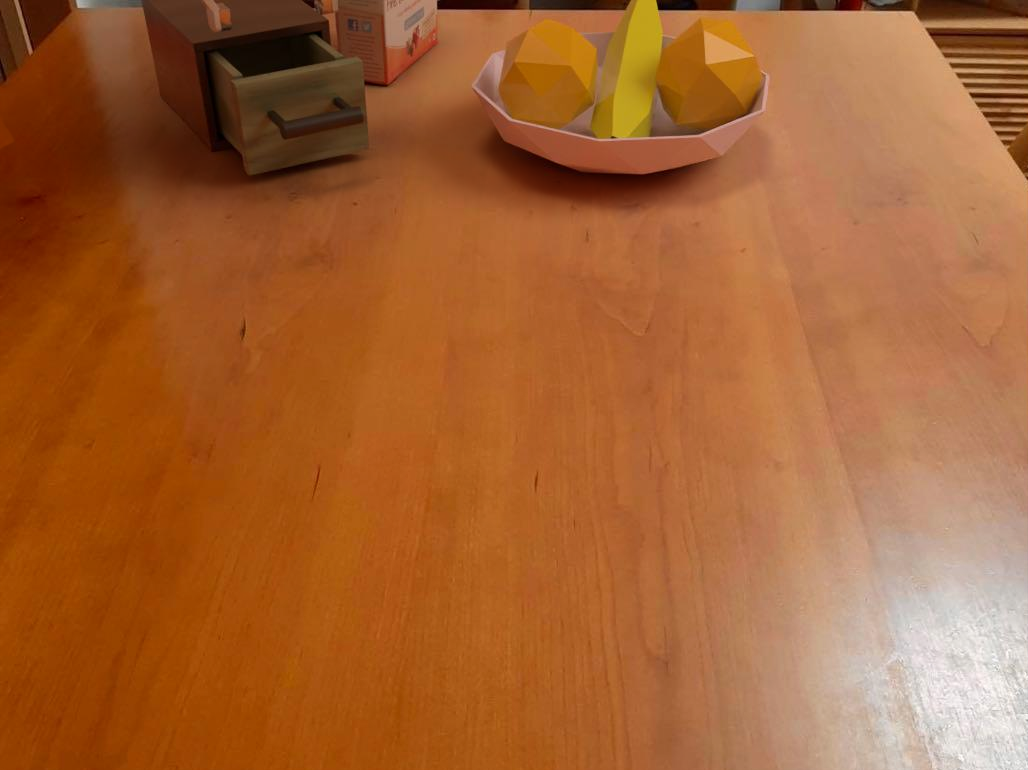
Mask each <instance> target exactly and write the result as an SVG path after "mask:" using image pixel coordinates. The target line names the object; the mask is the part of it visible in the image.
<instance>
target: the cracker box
mask: <svg viewBox="0 0 1028 770" xmlns="http://www.w3.org/2000/svg"><path fill="white" fill-rule="evenodd" d="M337 2H338V12H337V13H334V15H335V16H334V19H335V29H336V30H335V31H336V41H337V51H338V52H339V53H340V54H342V55H343V59H346V58H352V57H358V58H359V59H361V60H362V63H363V75H364V83H370V84H376V85H377V84H378V85H385V86H389V85H390V84H391V83H393V82H394V81H395V80H396V79H397V78H398V77H399V76H400V75H402V74H403V73H404V72H406V70H407V69H408V68H410V67H411V66H413V65H414V63H415V62H417V61H418V60H419V59H420V58H421V57H423V56H424V55H425V54H426V53H427V52H429V50H431V49H432V48H433V47H435V45H437V44H438V42H439V31H438V0H337Z"/></svg>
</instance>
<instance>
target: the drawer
mask: <svg viewBox="0 0 1028 770" xmlns="http://www.w3.org/2000/svg"><path fill="white" fill-rule="evenodd" d="M204 58H205V64H206V70H207V76H208V82H209V88H210V94H211V99H212V105H213V111H214V117H215V123H216V128H217V129H218V130H219V132H220V133H221V134H222V135H223V136H224V137H225V138H226V139H227V140H228V141H229V142H230V143H231V144H232V145H233V146H234V147H233V148H234V149H235V150H237V152H238V153H239V154H240V155H241V157H242V163H243V164H242V165H243V170H244V171H245V173H246V175H248V176H253V175H259V174H263V173H268V172H273V171H277V170H281V169H285V168H289V167H294V166H300V165H303V164H308V163H312V162H317V161H322V160H325V159H331V158H334V157H339V156H343V155H349V154H352V153H357V152H361V151H367V150H370V137H369V123H368V114H367V113H368V112H367V100H366V89H365V82H364V75H363V63H362V60H361V59H359V58H358V57H352V58H346V59H343V55H342V54H340V53H339V52H338V50H336V49H335V48H334V47H333V46H332V45H331V46H330V45H329V44H327V43H326V42H325V41H323V40H322V39H321V38H319V37H318V36H317V35H316V34H314V33H313V32H310V33H305V34H299V35H293V36H288V37H282V38H277V39H271V40H265V41H260V42H254V43H248V44H243V45H237V46H232V47H226V48H220V49H215V50H209V51H204Z"/></svg>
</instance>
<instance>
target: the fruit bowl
mask: <svg viewBox="0 0 1028 770" xmlns="http://www.w3.org/2000/svg"><path fill="white" fill-rule="evenodd" d="M658 8H659V7H658V3H657V0H630V1H629V3H628V5H627V7H626V9H625V11H624V13H623V14H622V17H621V19H620V21H619V23H618V24H617V27H616V29H615V30H614V31H597V32H595V31H593V32H579V31H577V30H576V29H575V28H573V27H572V26H569V25H567V24H564V23H562V22H559V21H557V20H553V19H550V18H546V19H544V20H542V21H540V22H539V23H537V24H535V25H533V26H532V27H530V28H528V29H527V30H525V31H523V32H521V33H520V34H518V35H516V36H515V37H513V38H511V39H510V40H508V41H507V42H506V46H505V49H503V50H499V51H497V52H493V53H491V54H490V56H489V58H488V59H487V61H486V62H485V64H484V65H483V67H482V68H481V70H480V72H479V73H478V75H477V77H476V78H475V79H474V81H473V82H472V84H471V85H470V87H471V89H472V90H473V92H474V94H475V96H476V97H477V99H478V100H479V102H480V104H481V105H482V107H483V109H484V110H485V112H486V114H487V115H488V117H489V118H490V120H491V121H492V123H493V125H494V126H495V129H496V130H497V132H498V134H499V135H500V137H501V138H502V140H503V141H504V142H505V143H508V144H510V145H513V146H515V147H518V148H520V149H523V150H525V151H527V152H530V153H532V154H534V155H537V156H538V157H542V158H543V159H546V160H549V161H551V162H552V163H556V164H559V165H561V166H564V167H567V168H569V169H573V170H574V171H575V170H576V171H578V172H581V173H595V174H623V175H625V174H626V175H647V174H652V173H658V172H662V171H668V170H674V169H677V168H678V169H679V168H683V167H686V166H689V165H693V164H698V163H701V162H704V161H708V160H713V159H716V158H719V157H723V156H724V155H725V154H726V153H727V152H728V151H729V150H730V149H731V148H732V146H734V145H735V144H736V142H738V141H739V140H740V139H741V138H742V137H743V136H744V135H745V134H746V133H747V131H748V130H749V129H751V128H752V126H753V125H754V124H755V123H756V122H757V121H758V120H759V118H760V117H761V116H762V115H763V114H764V113H765V112H766V108H767V102H768V101H767V100H768V94H769V86H770V77H771V75H770V74H768V73H767V72H765V71H764V70H761V69H760V66H759V63H758V60H757V58H756V54H755V53H754V52H753V50H752V49H751V48H750V46H749V44H748V43H747V41H746V40H745V39H744V36H743V35H742V33H741V32H740V31H739V29H738V27H737V25H736V24H735V23H734V21H733V20H731V19H720V18H711V17H699V19H697V20H696V21H695V22H693V24H691V25H690V26H689V27H688V28H686V29H685V30H683V32H682V33H681V34H679V35H678V36H677V37H676V36H672V35H671V36H670V35H665V34H664V32H663V27H662V22H661V18H660V12H659V9H658Z"/></svg>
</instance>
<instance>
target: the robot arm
mask: <svg viewBox="0 0 1028 770" xmlns="http://www.w3.org/2000/svg"><path fill="white" fill-rule="evenodd" d="M201 2H202V3H203V4H204V6H206V11H207V17H208V23H209V26H210V29H211V30H212V31H214V32H221V31H226V30H232V23H231V21H230V18H231V14H230V9H229V8H228V7H227V6H225V4H223V3H217V4H216V3H215V2H214V0H201ZM313 5H314V10H316V11H317V12H318V13H320V14H321V15H322V16H324V15H330V14H335V13H337V12H338V2H337V0H314V2H313Z"/></svg>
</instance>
